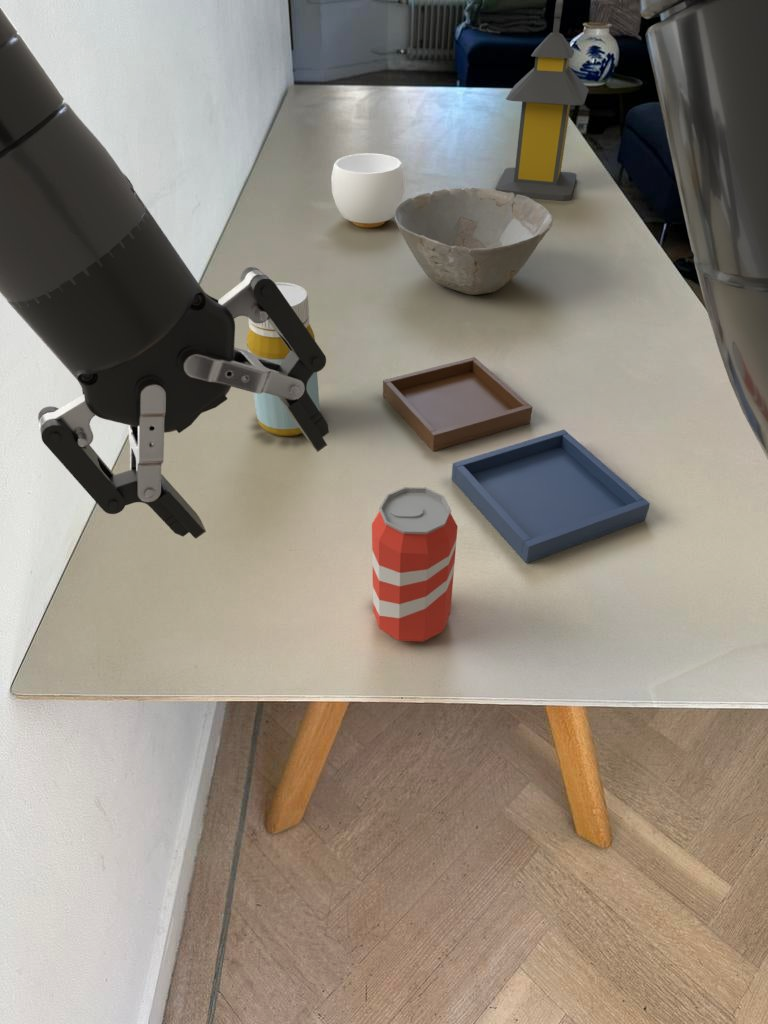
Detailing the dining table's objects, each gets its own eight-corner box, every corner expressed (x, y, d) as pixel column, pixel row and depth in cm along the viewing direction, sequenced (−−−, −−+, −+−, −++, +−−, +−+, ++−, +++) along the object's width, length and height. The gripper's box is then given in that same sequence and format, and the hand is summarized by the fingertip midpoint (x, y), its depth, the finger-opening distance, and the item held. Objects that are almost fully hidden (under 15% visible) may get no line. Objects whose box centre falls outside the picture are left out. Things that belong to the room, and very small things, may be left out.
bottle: (330, 427, 84) (323, 300, 75) (273, 445, 82) (257, 317, 72) (303, 397, 89) (293, 275, 79) (248, 414, 86) (230, 289, 77)
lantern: (576, 177, 150) (605, -5, 130) (569, 201, 140) (600, 7, 120) (505, 171, 153) (523, -8, 133) (494, 194, 143) (511, 3, 123)
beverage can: (375, 590, 66) (373, 481, 58) (448, 592, 65) (457, 483, 58) (371, 645, 61) (369, 535, 53) (450, 647, 61) (460, 538, 53)
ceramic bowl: (413, 324, 103) (415, 252, 97) (381, 257, 120) (380, 192, 114) (567, 309, 106) (579, 238, 100) (514, 246, 123) (521, 183, 117)
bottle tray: (530, 423, 85) (532, 407, 84) (432, 451, 81) (433, 435, 80) (473, 371, 94) (474, 356, 92) (382, 395, 89) (382, 379, 88)
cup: (322, 215, 134) (319, 157, 128) (385, 205, 138) (385, 148, 132) (350, 239, 126) (348, 178, 120) (416, 228, 130) (417, 168, 123)
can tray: (645, 520, 73) (650, 503, 71) (526, 563, 68) (529, 546, 67) (561, 445, 82) (564, 429, 80) (451, 479, 77) (452, 462, 76)
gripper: (-68, 363, 31) (171, 594, 41) (221, 166, 32) (384, 441, 42) (-63, 310, 36) (146, 525, 47) (182, 145, 37) (333, 391, 48)
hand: (258, 485), depth 44 cm, fingers open, 8 cm apart
